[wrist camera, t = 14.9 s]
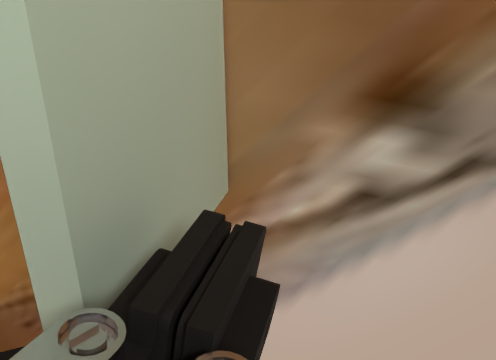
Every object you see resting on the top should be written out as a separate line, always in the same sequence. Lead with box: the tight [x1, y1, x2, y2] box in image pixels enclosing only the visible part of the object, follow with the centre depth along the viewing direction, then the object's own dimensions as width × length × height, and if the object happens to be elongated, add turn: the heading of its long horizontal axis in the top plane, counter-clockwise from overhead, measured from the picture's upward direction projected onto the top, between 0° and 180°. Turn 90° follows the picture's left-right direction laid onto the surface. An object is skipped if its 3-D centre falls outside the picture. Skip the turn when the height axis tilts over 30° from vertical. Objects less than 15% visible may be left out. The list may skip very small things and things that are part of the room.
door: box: [0, 0, 228, 332], centre depth 12 cm, size 15×1×10 cm, turn 0°
